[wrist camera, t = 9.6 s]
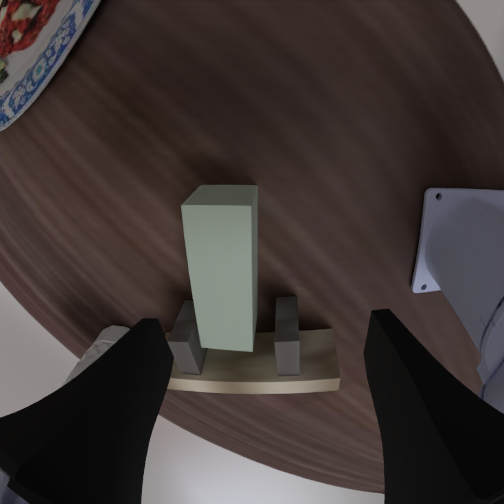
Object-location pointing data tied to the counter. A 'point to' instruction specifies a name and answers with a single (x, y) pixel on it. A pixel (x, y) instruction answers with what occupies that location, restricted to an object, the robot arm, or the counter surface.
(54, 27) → the ceramic plate
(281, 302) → the wooden base
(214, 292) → the block
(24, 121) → the counter surface
